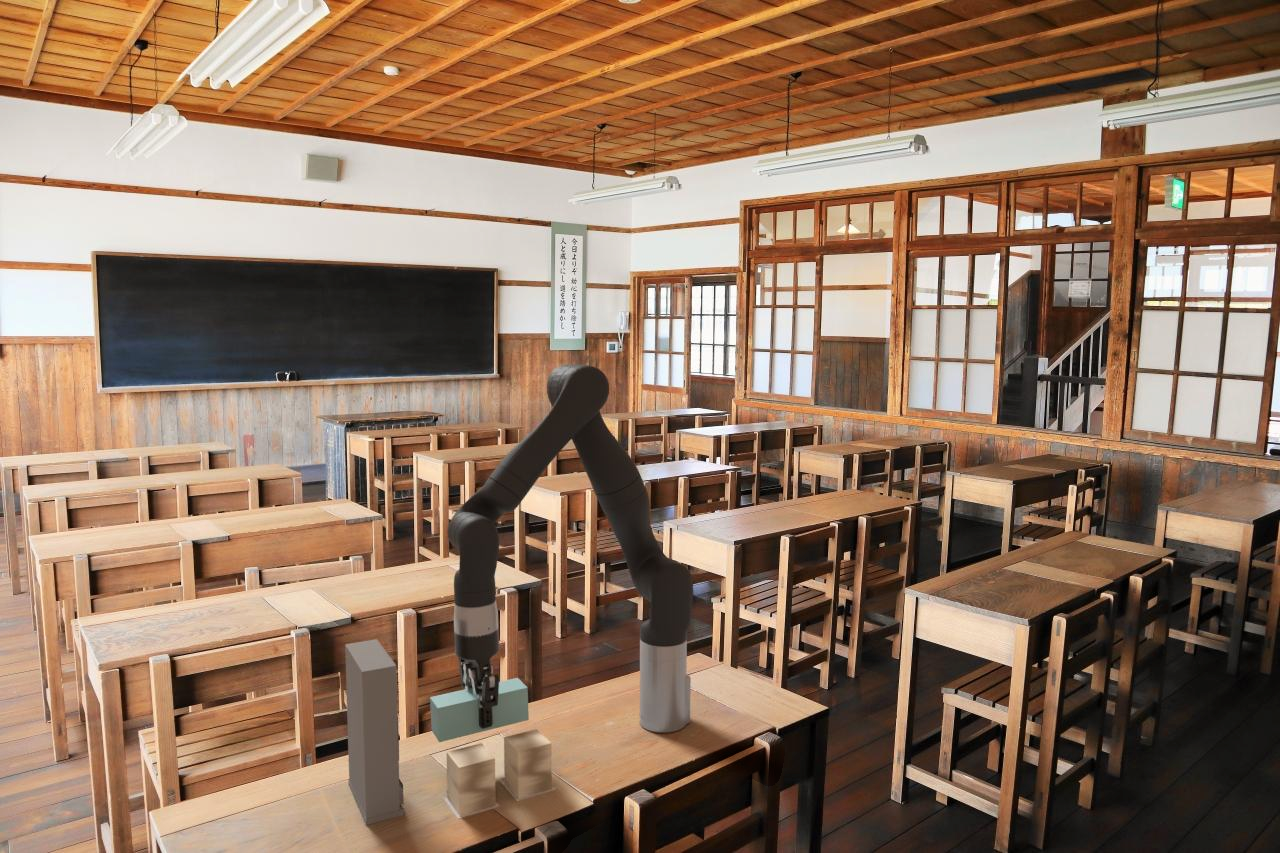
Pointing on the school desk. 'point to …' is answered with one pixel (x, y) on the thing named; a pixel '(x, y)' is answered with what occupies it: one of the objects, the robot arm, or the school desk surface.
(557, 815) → the school desk surface
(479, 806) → the pillar
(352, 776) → the tall grey upright post
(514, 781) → the pillar
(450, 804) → the thin flat base plate
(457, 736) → the lintel
